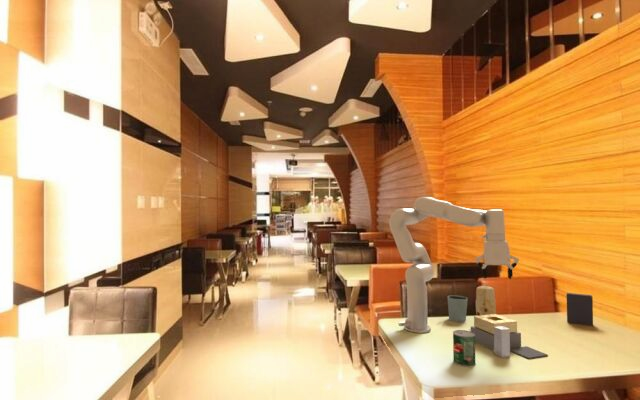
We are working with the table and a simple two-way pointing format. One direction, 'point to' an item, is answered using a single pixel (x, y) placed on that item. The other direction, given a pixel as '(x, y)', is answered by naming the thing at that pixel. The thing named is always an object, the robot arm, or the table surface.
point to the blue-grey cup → (457, 308)
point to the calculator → (580, 309)
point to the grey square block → (488, 338)
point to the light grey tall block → (502, 342)
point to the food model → (485, 301)
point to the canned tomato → (464, 348)
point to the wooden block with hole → (494, 322)
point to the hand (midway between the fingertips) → (497, 278)
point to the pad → (528, 352)
